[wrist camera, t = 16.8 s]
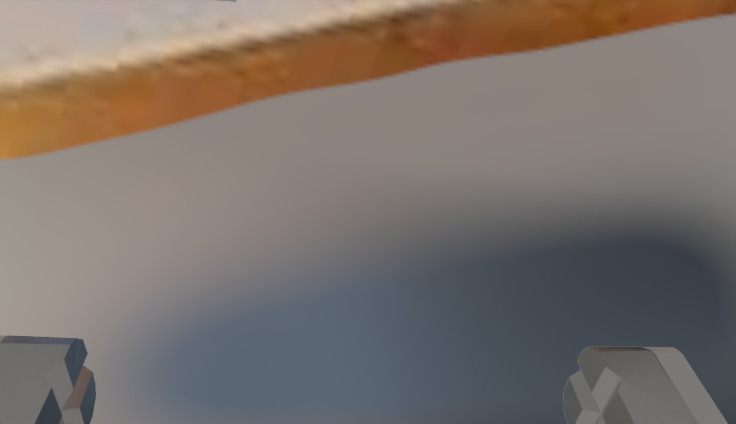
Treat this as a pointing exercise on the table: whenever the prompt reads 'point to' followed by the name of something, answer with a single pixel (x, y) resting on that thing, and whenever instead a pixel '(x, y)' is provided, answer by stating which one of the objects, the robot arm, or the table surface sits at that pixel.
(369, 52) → the table surface
